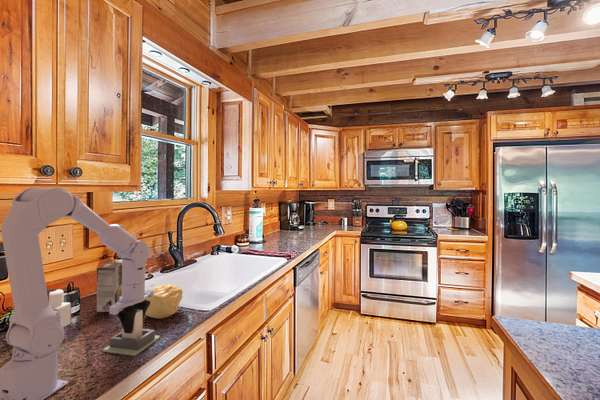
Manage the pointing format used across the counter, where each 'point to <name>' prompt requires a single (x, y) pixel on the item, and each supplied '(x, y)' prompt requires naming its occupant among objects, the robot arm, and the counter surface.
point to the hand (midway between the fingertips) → (133, 329)
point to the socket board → (131, 343)
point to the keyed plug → (135, 326)
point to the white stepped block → (60, 305)
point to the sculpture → (164, 301)
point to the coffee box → (108, 285)
